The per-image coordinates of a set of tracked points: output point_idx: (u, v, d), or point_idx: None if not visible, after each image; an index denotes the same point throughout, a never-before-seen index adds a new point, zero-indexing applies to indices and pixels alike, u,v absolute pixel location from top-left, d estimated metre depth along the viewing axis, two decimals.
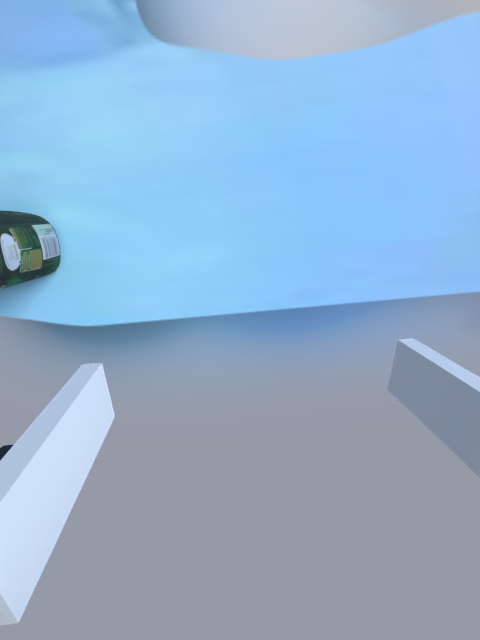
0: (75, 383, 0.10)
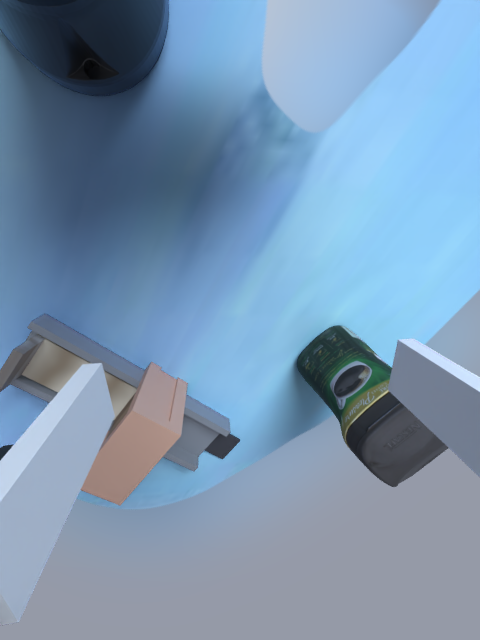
0: (75, 383, 0.10)
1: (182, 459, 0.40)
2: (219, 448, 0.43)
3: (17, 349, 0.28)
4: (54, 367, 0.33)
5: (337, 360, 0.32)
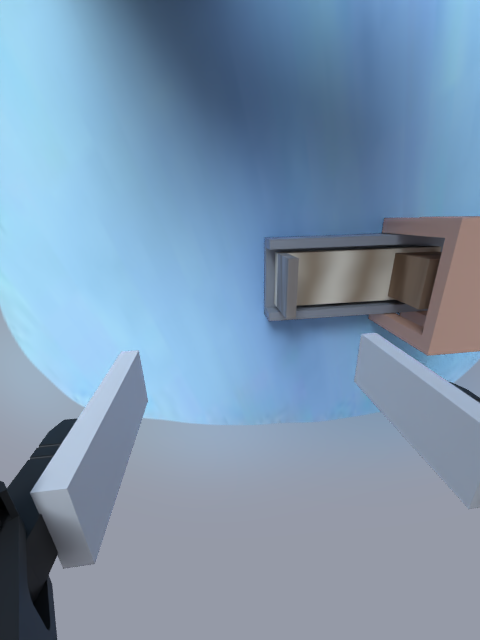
0: (119, 367, 0.10)
1: None
2: None
3: (290, 258, 0.25)
4: (308, 278, 0.30)
5: None
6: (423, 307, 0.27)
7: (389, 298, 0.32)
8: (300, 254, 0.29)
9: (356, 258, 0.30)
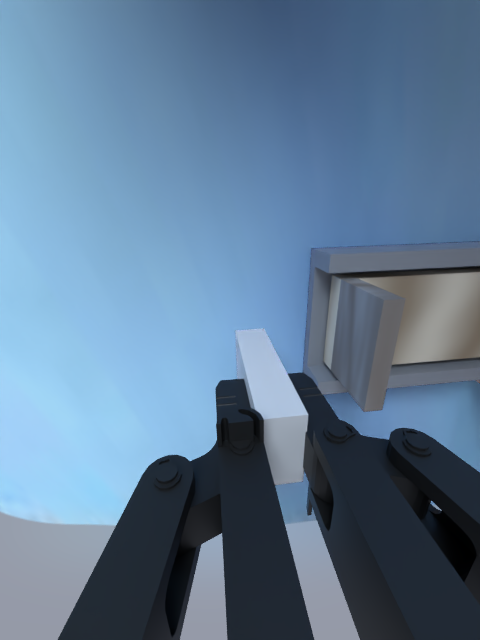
0: (245, 341, 0.12)
1: None
2: None
3: (386, 298, 0.12)
4: None
5: None
6: None
7: None
8: (381, 280, 0.16)
9: (478, 285, 0.16)
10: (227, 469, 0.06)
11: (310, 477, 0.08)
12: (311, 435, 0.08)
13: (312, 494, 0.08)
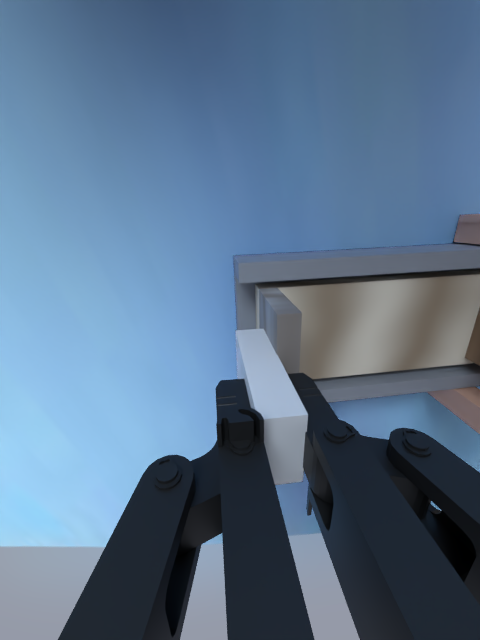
0: (245, 341, 0.12)
1: None
2: None
3: (282, 312, 0.11)
4: (320, 333, 0.16)
5: None
6: None
7: (467, 361, 0.18)
8: (304, 289, 0.14)
9: (412, 293, 0.15)
10: (227, 469, 0.06)
11: (310, 477, 0.08)
12: (311, 435, 0.08)
13: (312, 494, 0.08)
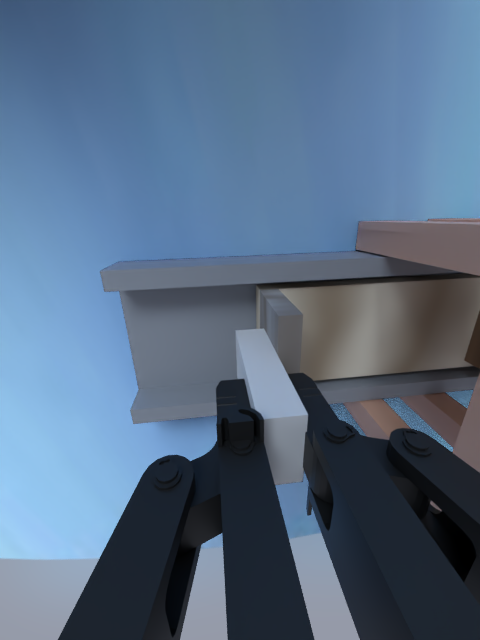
0: (245, 341, 0.12)
1: None
2: None
3: (283, 313, 0.11)
4: (321, 335, 0.16)
5: None
6: None
7: (466, 364, 0.18)
8: (305, 291, 0.14)
9: (413, 295, 0.15)
10: (227, 469, 0.06)
11: (310, 477, 0.08)
12: (311, 435, 0.08)
13: (312, 494, 0.08)
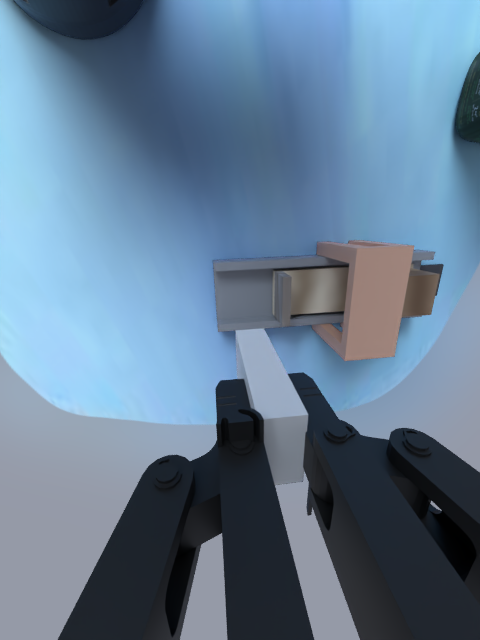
0: (245, 341, 0.12)
1: None
2: None
3: (284, 276, 0.30)
4: (301, 292, 0.35)
5: None
6: None
7: None
8: (293, 271, 0.34)
9: (341, 274, 0.35)
10: (227, 469, 0.06)
11: (310, 477, 0.08)
12: (311, 435, 0.08)
13: (312, 494, 0.08)
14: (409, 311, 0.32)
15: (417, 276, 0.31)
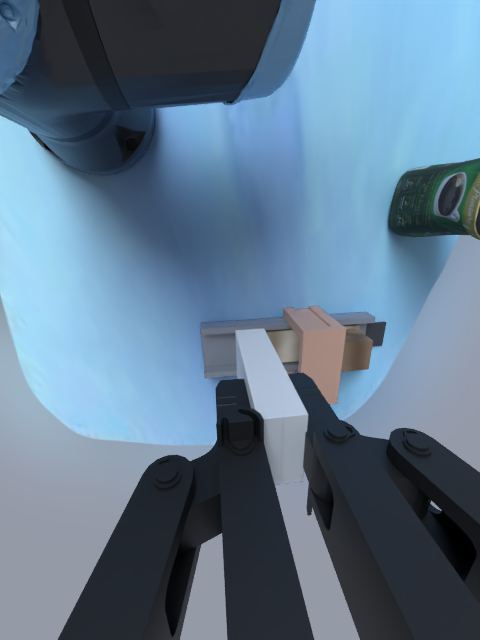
0: (245, 341, 0.12)
1: None
2: (373, 338, 0.49)
3: None
4: None
5: (427, 193, 0.34)
6: (341, 370, 0.42)
7: None
8: None
9: None
10: (227, 469, 0.06)
11: (310, 477, 0.08)
12: (311, 435, 0.08)
13: (312, 494, 0.08)
14: (351, 367, 0.42)
15: (355, 342, 0.41)
